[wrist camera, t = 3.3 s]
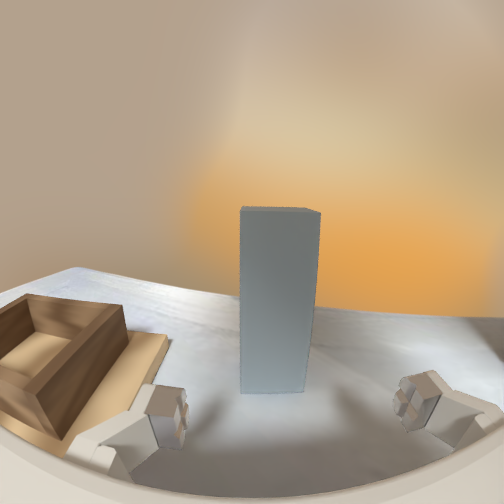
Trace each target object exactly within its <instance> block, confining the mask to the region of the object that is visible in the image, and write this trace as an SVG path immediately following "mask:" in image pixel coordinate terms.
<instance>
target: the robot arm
mask: <svg viewBox="0 0 504 504" xmlns="http://www.w3.org/2000/svg"><path fill="white" fill-rule="evenodd" d="M399 387H400V390H399V391H398V392H397V393H396V394H395V396H394V399H393V407H394V411H395V413H396V414H397V415H398V416H400V417H402V420H401V423H402V425H403V426H404V428H405V430H406V432H407V433H408V432H411V431H415V430H418V429H422V428H424V429H425V430H427V431H428V432H430V433H431V434H433V435H435V436H436V437H438V438H439V439H441V440H442V441H444V442H446V443H447V444H449V445H450V446H452V447H454V449H453V451H452V452H451V454H450V455H448V456H446V457H444V458H441V459H439V460H437V461H434V462H432V463H430V464H427V465H425V466H422V467H420V468H417V469H414V470H411V471H409V472H406V473H403V474H400V475H397V476H394V477H390V478H387V479H384V480H380V481H377V482H373V483H369V484H365V485H361V486H356V487H352V488H347V489H342V490H337V491H331V492H325V493H318V494H310V495H301V496H291V497H275V498H229V497H213V496H203V495H194V494H186V493H179V492H173V491H167V490H162V489H157V488H152V487H147V486H143V485H139V484H135V483H134V481H133V480H132V478H131V476H130V475H129V473H130V472H131V471H132V470H134V469H135V468H136V467H137V466H139V465H140V464H141V463H142V462H143V461H145V460H146V459H147V458H148V457H149V456H151V455H152V454H153V453H154V452H155V451H157V450H158V449H159V447H162V448H169V449H177V450H182V449H183V445H184V440H185V433H184V430H186V429H187V428H188V423H189V407H188V404H187V403H186V402H185V401H186V397H187V395H186V390H185V389H184V388H177V387H170V386H163V385H154V384H148V383H144V384H143V385H142V387H141V388H140V390H139V392H138V394H137V396H136V398H135V400H134V402H133V404H132V406H131V408H130V410H129V411H126V410H125V411H123V412H121V413H120V414H118V415H116V416H114V417H112V418H110V419H108V420H106V421H104V422H102V423H100V424H99V425H97V426H95V427H93V428H91V429H89V430H86V431H84V432H82V433H80V434H78V435H76V437H75V439H74V440H73V442H72V444H71V445H70V447H69V449H68V450H67V452H66V454H65V455H64V457H63V458H60V457H58V456H56V455H54V454H52V453H50V452H48V451H46V450H44V449H42V448H40V447H38V446H36V445H34V444H32V443H30V442H28V441H27V440H25V439H23V438H21V437H20V436H18V435H16V434H15V433H13V432H11V431H10V430H8V429H7V428H5V427H4V426H2V425H1V424H0V504H504V413H503V411H502V410H501V409H500V408H499V407H498V406H497V405H495V404H493V403H490V402H487V401H484V400H481V399H478V398H476V397H473V396H470V395H468V394H465V393H462V392H460V391H457V390H454V391H453V390H452V389H451V388H450V387H449V386H448V384H447V383H446V382H445V381H444V380H443V379H442V378H441V377H440V376H439V375H438V373H437V372H436V371H434V370H431V371H427V372H423V373H420V374H416V375H411V376H407V377H403V378H402V379H401V380H400V383H399Z"/></svg>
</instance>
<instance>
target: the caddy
mask: <svg viewBox="0 0 504 504" xmlns="http://www.w3.org/2000/svg"><path fill="white" fill-rule="evenodd" d="M168 348H169V344H168V337H167V334H155V333H144V332H134V331H127V329H126V324H125V318H124V312H123V306H122V305H118V304H107V303H97V302H88V301H79V300H70V299H62V298H55V297H48V296H41V295H34V294H25V295H23V296H21V297H20V298H18V299H16V300H14V301H13V302H11V303H9V304H7V305H6V306H4V307H2V308H1V309H0V424H1V425H2V426H4V427H5V428H7V429H8V430H10V431H11V432H13V433H15V434H16V435H18V436H20V437H21V438H23V439H25V440H27V441H28V442H30V443H32V444H34V445H36V446H38V447H40V448H42V449H44V450H46V451H48V452H50V453H52V454H54V455H56V456H58V457H60V458H63V457H64V455H65V454H66V452H67V450H68V449H69V447H70V445H71V444H72V442H73V440H74V439H75V437H76V435H78V434H80V433H82V432H84V431H86V430H89V429H91V428H93V427H95V426H97V425H99V424H100V423H102V422H104V421H106V420H108V419H110V418H112V417H114V416H116V415H118V414H120V413H121V412H123V411H125V410H126V411H129V410H130V408H131V406H132V404H133V402H134V400H135V398H136V396H137V394H138V392H139V390H140V388H141V387H142V385H143V384H144V383H148V384H152V381H153V379H154V377H155V375H156V373H157V371H158V369H159V367H160V365H161V362H162V360H163V358H164V356H165V354H166V352H167V350H168Z"/></svg>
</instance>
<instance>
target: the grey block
mask: <svg viewBox="0 0 504 504" xmlns="http://www.w3.org/2000/svg"><path fill="white" fill-rule="evenodd" d="M320 216H321V213H320V212H317V211H313V210H311V209H307V208H297V207H248V206H246V207H244V206H243V207H242V208H241V210H240V381H241V394H273V393H298V392H303V391H304V384H305V378H306V371H307V364H308V357H309V349H310V341H311V333H312V324H313V314H314V304H315V293H316V283H317V269H318V256H319V240H320V239H319V237H320V219H321V217H320Z"/></svg>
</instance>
